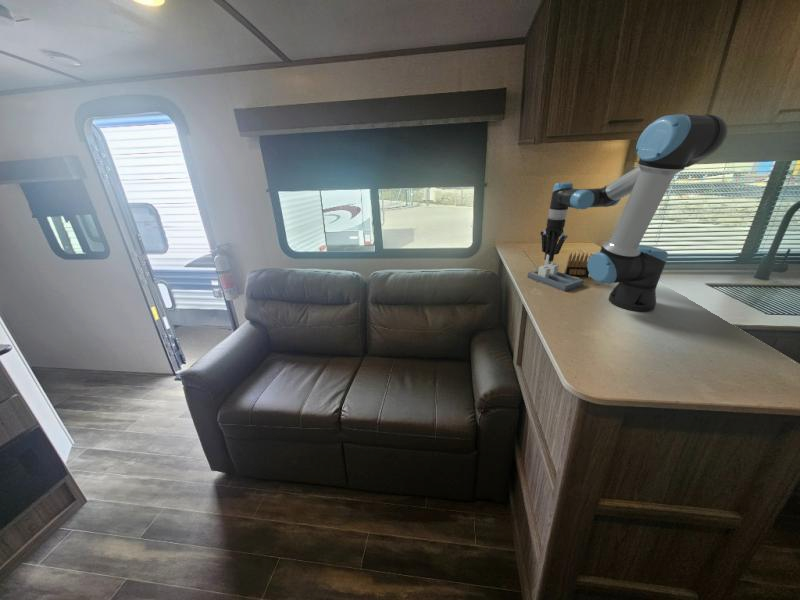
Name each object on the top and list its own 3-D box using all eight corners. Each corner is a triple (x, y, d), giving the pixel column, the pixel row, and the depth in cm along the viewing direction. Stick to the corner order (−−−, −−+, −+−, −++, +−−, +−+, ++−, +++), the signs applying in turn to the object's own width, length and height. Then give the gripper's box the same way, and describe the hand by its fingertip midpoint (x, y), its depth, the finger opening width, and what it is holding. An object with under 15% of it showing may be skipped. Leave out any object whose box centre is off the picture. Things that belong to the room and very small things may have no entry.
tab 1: (548, 278, 143) (550, 266, 141) (544, 279, 142) (546, 268, 139) (541, 275, 146) (543, 264, 144) (537, 276, 145) (539, 265, 143)
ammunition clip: (564, 276, 149) (569, 253, 144) (563, 275, 151) (568, 251, 146) (588, 277, 147) (594, 253, 142) (586, 276, 149) (592, 252, 144)
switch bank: (582, 285, 138) (584, 279, 137) (564, 291, 132) (565, 285, 131) (545, 272, 154) (546, 267, 153) (527, 277, 148) (528, 271, 147)
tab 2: (556, 274, 147) (559, 264, 144) (552, 276, 145) (555, 265, 143) (549, 272, 150) (551, 261, 148) (545, 273, 149) (547, 262, 146)
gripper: (575, 219, 135) (564, 269, 145) (549, 215, 145) (541, 262, 155) (564, 221, 132) (554, 272, 142) (539, 217, 142) (531, 264, 152)
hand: (547, 267), depth 149 cm, fingers closed
